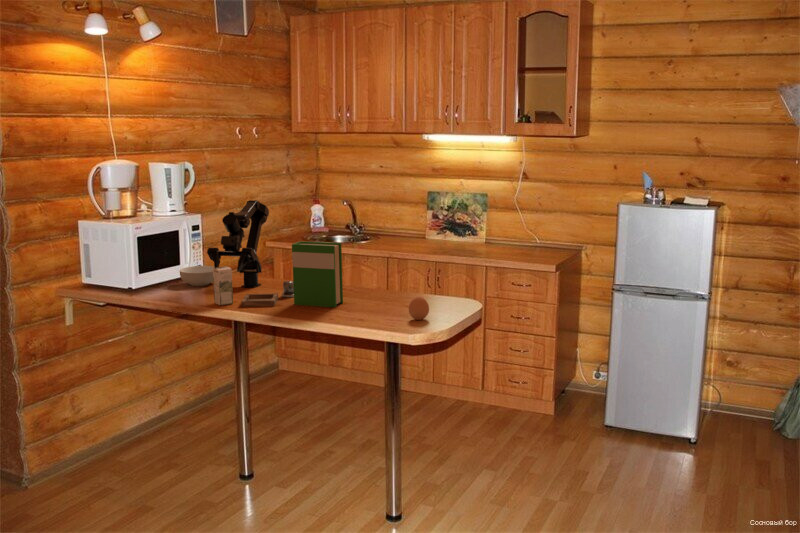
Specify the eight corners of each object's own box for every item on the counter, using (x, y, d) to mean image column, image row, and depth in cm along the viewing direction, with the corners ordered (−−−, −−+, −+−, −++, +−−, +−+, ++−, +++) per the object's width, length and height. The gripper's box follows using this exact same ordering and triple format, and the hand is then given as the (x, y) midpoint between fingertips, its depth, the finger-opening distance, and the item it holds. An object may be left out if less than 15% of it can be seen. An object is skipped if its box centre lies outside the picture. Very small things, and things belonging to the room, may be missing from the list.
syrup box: (227, 301, 312) (225, 265, 310) (233, 303, 308) (231, 267, 305) (214, 303, 309) (211, 267, 306) (220, 306, 304) (218, 269, 302)
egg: (429, 317, 283) (429, 294, 281) (429, 322, 276) (428, 298, 274) (409, 317, 283) (408, 294, 282) (408, 322, 276) (408, 298, 275)
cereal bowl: (191, 290, 334) (190, 274, 333) (173, 284, 346) (172, 269, 345) (226, 284, 345) (225, 268, 344) (208, 279, 358) (207, 263, 356)
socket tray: (246, 299, 315) (246, 294, 315) (278, 298, 316) (277, 293, 315) (241, 307, 302) (241, 301, 302) (274, 306, 303) (274, 300, 303)
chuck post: (286, 294, 324) (285, 280, 323) (299, 295, 321) (298, 280, 320) (279, 297, 318) (278, 282, 317) (291, 298, 316) (291, 283, 315)
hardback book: (343, 303, 306) (341, 243, 302) (335, 307, 300) (333, 246, 295) (302, 300, 312) (300, 241, 308) (294, 304, 305) (291, 244, 301)
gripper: (207, 227, 314) (197, 259, 306) (251, 228, 312) (243, 259, 303) (215, 244, 324) (206, 275, 315) (258, 244, 321) (251, 275, 312)
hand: (226, 271), depth 311 cm, fingers open, 9 cm apart
